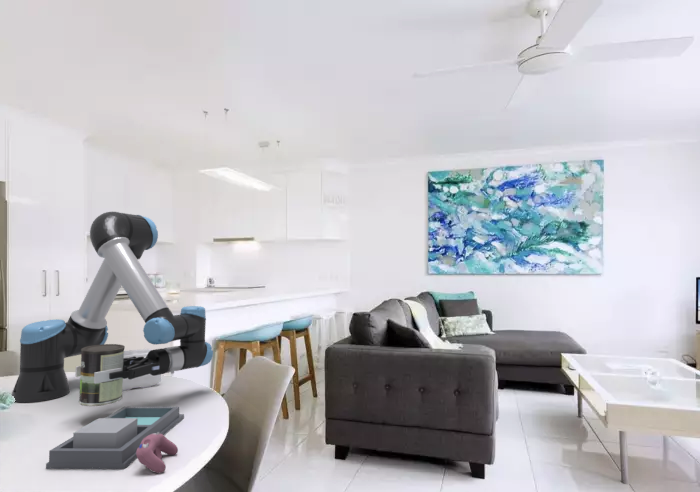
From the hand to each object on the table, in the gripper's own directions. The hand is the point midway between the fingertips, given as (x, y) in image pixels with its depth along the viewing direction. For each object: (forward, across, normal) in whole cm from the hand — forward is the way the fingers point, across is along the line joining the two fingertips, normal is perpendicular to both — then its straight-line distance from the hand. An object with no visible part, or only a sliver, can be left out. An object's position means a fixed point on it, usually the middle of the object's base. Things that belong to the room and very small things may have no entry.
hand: (85, 374), depth 116 cm
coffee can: (-4, 0, -8) cm, 9 cm away
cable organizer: (-28, +26, -13) cm, 40 cm away
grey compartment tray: (-1, -20, -12) cm, 23 cm away
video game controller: (+2, -38, -12) cm, 40 cm away
